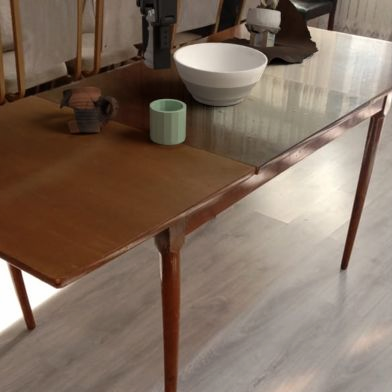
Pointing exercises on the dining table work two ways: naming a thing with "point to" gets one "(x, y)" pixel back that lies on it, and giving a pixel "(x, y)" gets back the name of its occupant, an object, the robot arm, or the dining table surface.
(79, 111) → the pottery mug
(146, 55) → the rook chess piece
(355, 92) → the dining table surface
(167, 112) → the green cylindrical cup
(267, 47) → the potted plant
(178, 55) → the bowl
